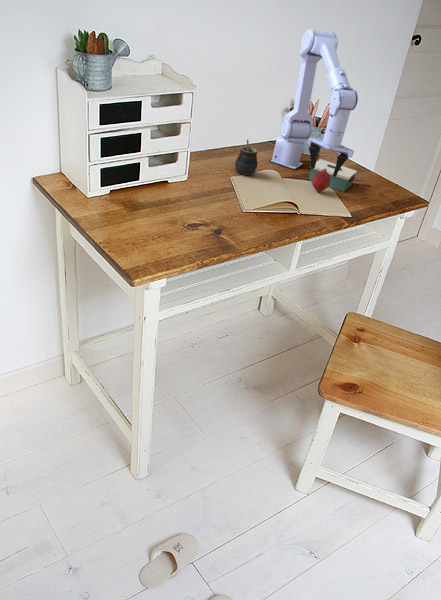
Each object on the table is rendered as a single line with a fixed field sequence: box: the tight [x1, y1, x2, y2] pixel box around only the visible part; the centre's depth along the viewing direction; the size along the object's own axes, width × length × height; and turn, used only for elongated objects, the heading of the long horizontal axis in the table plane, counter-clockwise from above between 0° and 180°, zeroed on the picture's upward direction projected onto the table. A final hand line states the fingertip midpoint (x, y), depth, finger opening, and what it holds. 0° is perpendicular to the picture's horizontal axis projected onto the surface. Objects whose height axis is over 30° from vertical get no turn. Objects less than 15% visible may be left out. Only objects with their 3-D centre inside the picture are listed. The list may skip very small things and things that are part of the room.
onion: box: [311, 168, 331, 193], centre depth 179 cm, size 6×6×8 cm
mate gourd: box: [234, 139, 258, 176], centre depth 182 cm, size 7×8×10 cm
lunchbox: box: [307, 158, 358, 193], centre depth 189 cm, size 14×10×6 cm, turn 61°
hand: (323, 172), depth 177 cm, fingers open, 7 cm apart
